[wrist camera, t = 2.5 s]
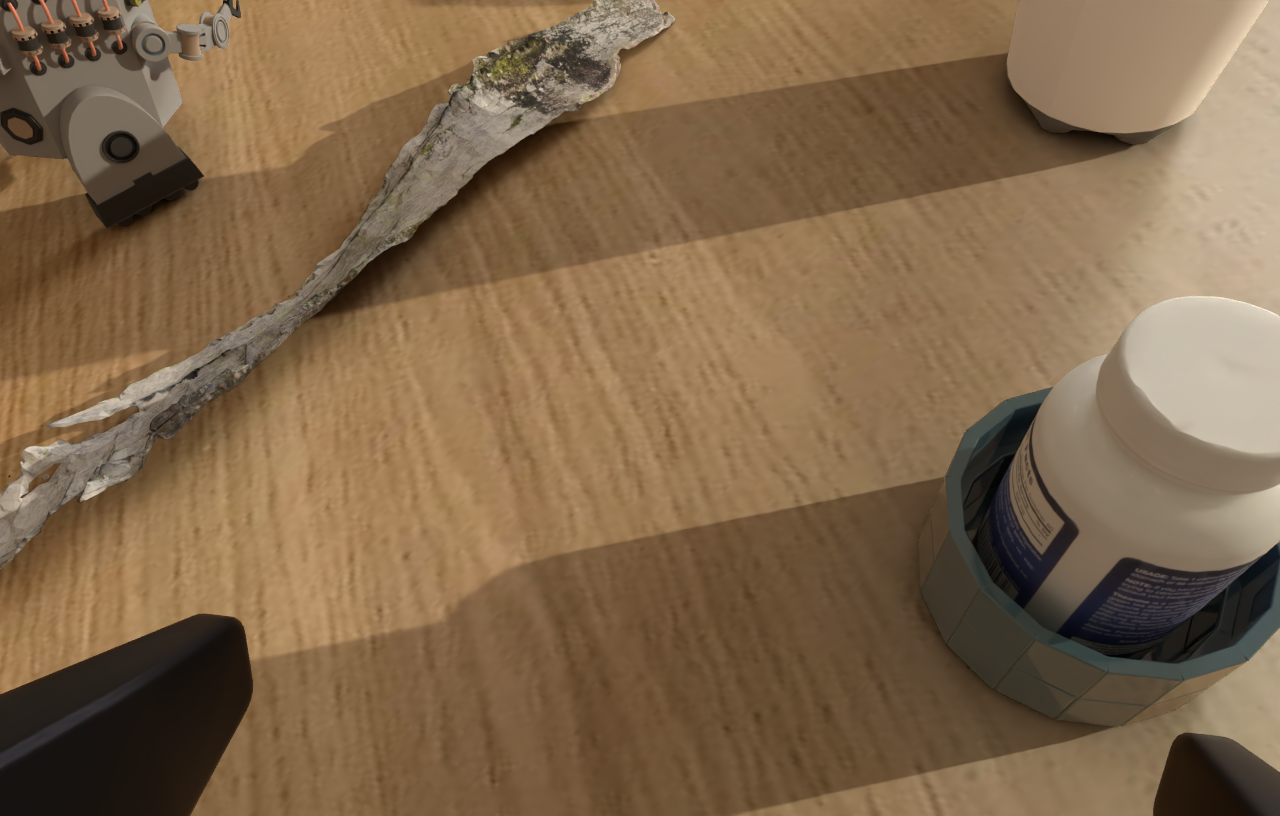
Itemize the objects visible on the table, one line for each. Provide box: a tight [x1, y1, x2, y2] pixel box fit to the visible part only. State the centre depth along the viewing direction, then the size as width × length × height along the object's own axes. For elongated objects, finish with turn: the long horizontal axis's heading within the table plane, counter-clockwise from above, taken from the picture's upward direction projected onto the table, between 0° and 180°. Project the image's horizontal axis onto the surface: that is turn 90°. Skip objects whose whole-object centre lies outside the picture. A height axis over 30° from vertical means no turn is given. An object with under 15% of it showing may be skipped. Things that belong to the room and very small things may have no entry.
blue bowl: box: [918, 387, 1280, 727], centre depth 24 cm, size 8×8×4 cm
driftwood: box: [0, 0, 675, 570], centre depth 34 cm, size 37×2×5 cm
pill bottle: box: [972, 296, 1280, 660], centre depth 21 cm, size 5×5×10 cm
